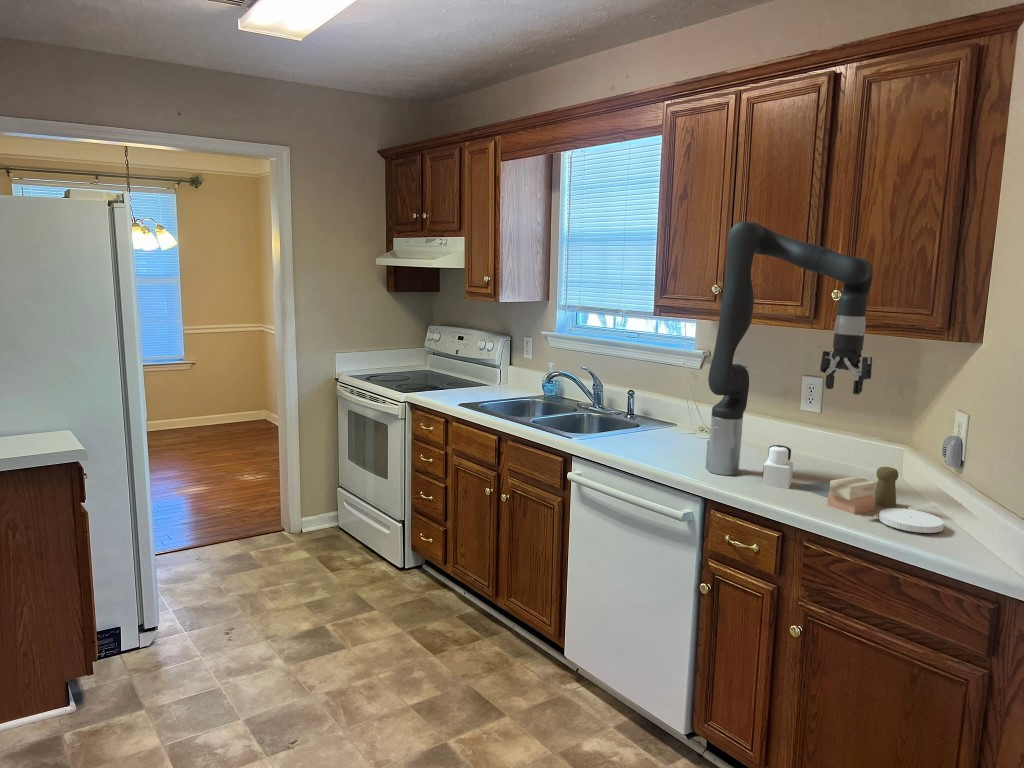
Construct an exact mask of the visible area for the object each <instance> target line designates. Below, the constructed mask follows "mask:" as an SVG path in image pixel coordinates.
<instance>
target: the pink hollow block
mask: <svg viewBox="0 0 1024 768" xmlns="http://www.w3.org/2000/svg"><path fill="white" fill-rule="evenodd" d="M875 498H876V497H875V496H868V497H863V498H858V499H853V500H847V499H844V498H841V497H838V496H835V495H832V494H829V492H828V498H827V504H826V506H828V507H831V508H833V509H837V510H840V511H843V512H846V513H848V514H849V513H850V514H852V515H858V514H863V513H867V512H872V511H875V508H876V507H875V506H876V505H875Z"/></svg>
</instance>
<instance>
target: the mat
mask: <svg viewBox="0 0 1024 768" xmlns="http://www.w3.org/2000/svg"><path fill="white" fill-rule="evenodd" d="M792 487H793V488H796V489H799V490H803V491H806V492H809V493H812V494H813V495H814V494H815V495H818V496H820V497H821V496H822V497H824V498H827V499H828V492H829V490H830V483H827V482H824V481H817V482H812V483H806V484H800V485H794V486H792Z"/></svg>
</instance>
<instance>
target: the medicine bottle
mask: <svg viewBox="0 0 1024 768" xmlns="http://www.w3.org/2000/svg"><path fill="white" fill-rule="evenodd" d="M767 452H768V453H767V454H768V455H767V460H766V461H765V462H764V464H763V470H762V472H763V473H762V481H761V484H762V485H761V486H767V487H768V486H769V487H774V488H782V489H788V490H789V489H790V487H791V485H792V484H793V482H792V481H793V472H794V462H792V461H791V456H792V449H791V448H790V447H788V446H786V445H782V444H781V445H780V444H773V445H771V446H769V447H768V451H767Z"/></svg>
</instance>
